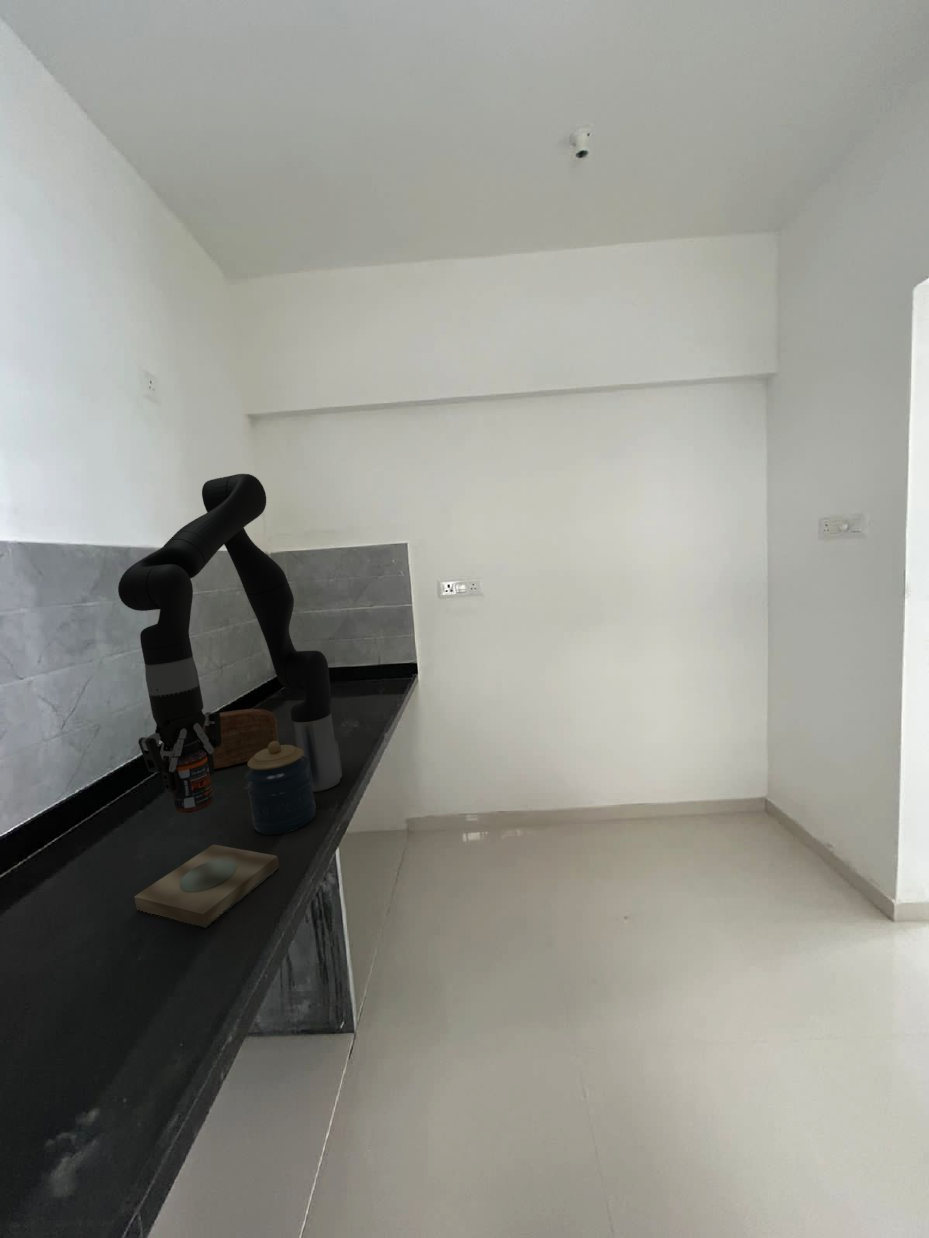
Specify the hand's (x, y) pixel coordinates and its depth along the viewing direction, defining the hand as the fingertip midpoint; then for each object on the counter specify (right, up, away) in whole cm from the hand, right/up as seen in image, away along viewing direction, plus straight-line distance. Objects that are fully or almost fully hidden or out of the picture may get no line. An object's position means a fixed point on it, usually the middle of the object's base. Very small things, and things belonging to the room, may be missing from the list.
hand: (191, 782), depth 92 cm
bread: (-21, -14, +64) cm, 69 cm away
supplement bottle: (0, -4, +1) cm, 4 cm away
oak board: (+2, -19, +2) cm, 19 cm away
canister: (+8, -16, +25) cm, 30 cm away
